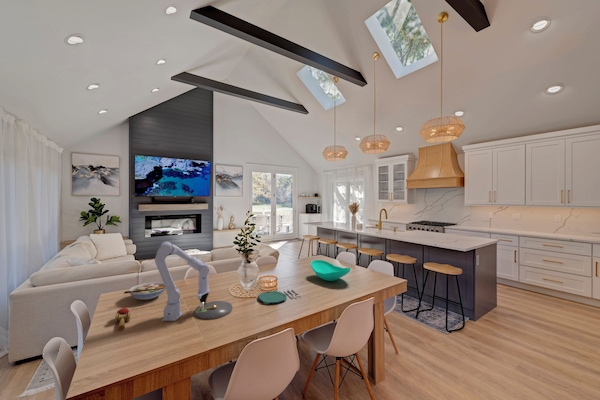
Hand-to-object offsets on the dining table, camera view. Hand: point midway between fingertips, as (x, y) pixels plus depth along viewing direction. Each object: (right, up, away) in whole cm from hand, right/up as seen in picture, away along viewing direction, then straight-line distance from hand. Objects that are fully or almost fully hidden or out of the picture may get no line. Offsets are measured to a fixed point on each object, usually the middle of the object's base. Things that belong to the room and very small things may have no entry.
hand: (203, 305), depth 152 cm
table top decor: (+86, -5, +64) cm, 108 cm away
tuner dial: (+6, -4, +1) cm, 7 cm away
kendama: (-38, -3, -16) cm, 42 cm away
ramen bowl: (-45, -3, +18) cm, 49 cm away
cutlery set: (+45, -5, +23) cm, 51 cm away
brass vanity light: (+3, -2, -1) cm, 3 cm away
